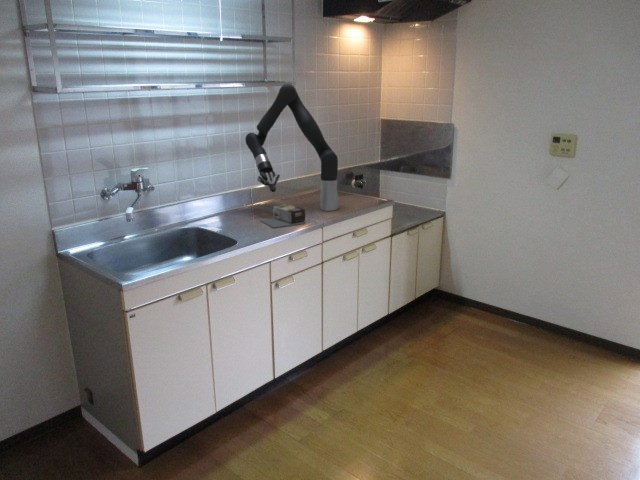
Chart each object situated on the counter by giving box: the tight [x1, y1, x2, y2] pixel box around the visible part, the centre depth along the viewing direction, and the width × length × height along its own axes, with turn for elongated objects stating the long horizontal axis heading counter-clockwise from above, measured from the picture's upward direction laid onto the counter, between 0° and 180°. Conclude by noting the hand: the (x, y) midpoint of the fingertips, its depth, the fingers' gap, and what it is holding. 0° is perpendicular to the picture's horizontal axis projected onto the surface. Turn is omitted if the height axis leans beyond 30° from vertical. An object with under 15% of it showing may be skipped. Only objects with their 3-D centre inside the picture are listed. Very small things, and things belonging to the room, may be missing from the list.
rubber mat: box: [259, 217, 306, 229], centre depth 272 cm, size 18×16×1 cm
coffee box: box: [272, 203, 306, 223], centre depth 275 cm, size 9×6×16 cm
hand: (273, 191), depth 276 cm, fingers closed
